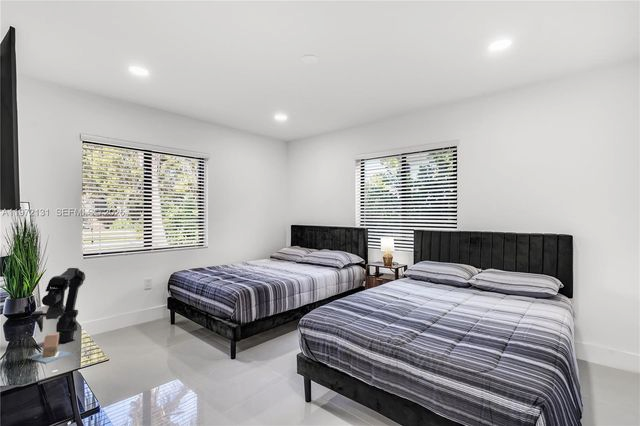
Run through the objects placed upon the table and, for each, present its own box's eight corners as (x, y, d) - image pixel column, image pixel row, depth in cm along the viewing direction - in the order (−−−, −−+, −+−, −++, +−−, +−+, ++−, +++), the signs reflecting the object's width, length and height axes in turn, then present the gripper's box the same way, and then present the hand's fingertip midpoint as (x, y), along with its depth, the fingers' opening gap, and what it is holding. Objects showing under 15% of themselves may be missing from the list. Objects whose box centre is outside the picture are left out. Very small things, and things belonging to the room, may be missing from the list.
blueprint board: (52, 349, 168) (52, 348, 168) (70, 354, 165) (71, 353, 165) (27, 358, 157) (27, 357, 157) (46, 363, 153) (46, 362, 153)
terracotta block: (46, 344, 162) (47, 334, 162) (58, 343, 164) (59, 333, 165) (43, 347, 158) (44, 337, 158) (56, 346, 160) (57, 336, 160)
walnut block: (44, 353, 162) (45, 344, 162) (56, 352, 164) (58, 343, 164) (42, 357, 157) (43, 347, 158) (54, 356, 160) (56, 346, 160)
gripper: (28, 305, 151) (24, 338, 150) (76, 304, 160) (72, 334, 159) (35, 300, 160) (30, 330, 159) (79, 298, 170) (76, 327, 169)
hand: (52, 331), depth 161 cm, fingers open, 9 cm apart
